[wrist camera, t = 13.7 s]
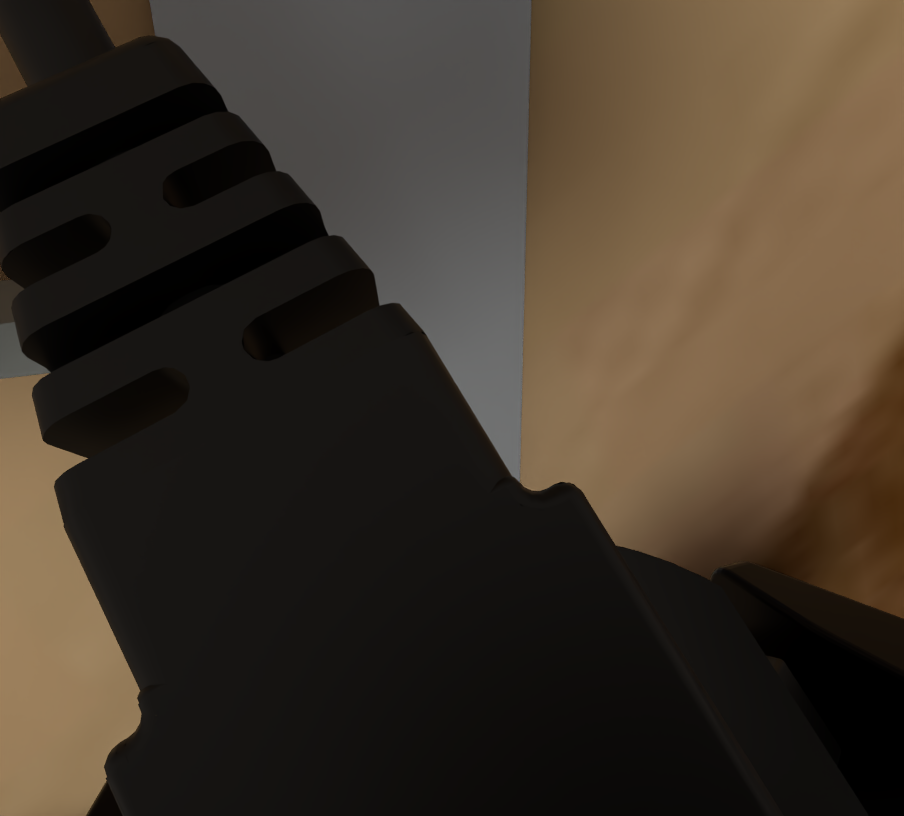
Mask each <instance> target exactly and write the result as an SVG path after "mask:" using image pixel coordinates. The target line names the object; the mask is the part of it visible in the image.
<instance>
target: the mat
mask: <svg viewBox="0 0 904 816" xmlns="http://www.w3.org/2000/svg"><path fill="white" fill-rule="evenodd" d="M149 1H150V7H151V13H152V19H153V25H154V31H155V36H158V37H164V38H168V39H170V40H171V41H173V42H174V43H176V44H177V45H178V46H180V47H181V48H182V50H183V51H184V52H185V53H186V54H187V55H188V57H189V58H190V59H191V60H192V61H193V62H194V64H195V65H196V66H197V67H198V68H199V69H200V71H201V72H202V73H203V74H204V75H205V76H206V78H207V79H208V80H209V81H210V82H211V84H212V85H213V86H214V87H215V88H216V89H217V91H218V92H219V93H220V94H221V96H222V98H223V101H224V103H225V105H226V107H227V109H228V111H229V112H231V113H234V114H236V115H239V116H240V117H241V119H242V120H243V121H244V122H245V123H246V124H247V126H248V127H249V128H250V129H251V130H252V131H253V133H254V134H255V135H256V136H257V137H258V138H259V140H260V141H261V142H262V143H263V144H264V146H265V147H266V148H267V149H268V151H269V153H270V155H271V158H272V161H273V163H274V166H275V169H276V171H281V172H284V173H287V174H289V175H290V176H291V177H292V178H293V179H294V181H295V182H296V183H297V184H298V185H299V186H300V188H301V189H302V190H303V191H304V192H305V193H306V195H307V196H308V197H309V198H310V199H311V200H312V202H313V203H314V204H315V205H316V206H317V208H318V209H319V210H320V212H321V216H322V219H323V223H324V226H325V229H326V231H327V233H328V235H329V236H330V235H336V236H341V237H343V238H344V239H345V240H346V241H347V243H348V244H349V245H350V246H351V247H352V248H353V250H354V251H355V252H356V253H357V254H358V255H359V257H360V258H361V259H362V260H363V261H364V262H365V264H366V265H367V266H368V267H369V268H370V269H371V271H372V272H373V273H374V276H375V282H376V287H377V293H378V299H379V305H384V304H388V303H400V304H401V306H402V307H403V308H404V309H405V310H406V311H407V313H408V314H409V315H410V316H411V317H412V318H413V319H414V321H415V322H416V323H417V324H418V325H419V326H420V327H421V329H422V330H423V331H424V332H425V334H426V335H427V337H428V339H429V340H430V342H431V344H432V345H433V347H434V348H435V350H436V352H437V353H438V355H439V357H440V358H441V360H442V362H443V363H444V365H445V367H446V368H447V370H448V372H449V373H450V375H451V376H452V378H453V380H454V381H455V383H456V385H457V386H458V388H459V390H460V391H461V393H462V395H463V396H464V398H465V399H466V401H467V403H468V404H469V406H470V408H471V409H472V411H473V413H474V414H475V416H476V418H477V419H478V421H479V422H480V424H481V426H482V427H483V429H484V431H485V432H486V434H487V436H488V437H489V439H490V441H491V442H492V444H493V445H494V447H495V449H496V450H497V452H498V454H499V455H500V457H501V459H502V460H503V462H504V464H505V465H506V467H507V469H508V470H509V472H510V473H511V475H512V477H515V478H516V479H517V480H518V481H519V482H520V450H521V409H522V368H523V327H524V286H525V245H526V204H527V163H528V122H529V81H530V40H531V0H149Z"/></svg>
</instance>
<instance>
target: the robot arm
mask: <svg viewBox="0 0 904 816" xmlns="http://www.w3.org/2000/svg"><path fill="white" fill-rule="evenodd" d="M710 581H711V582H713V583H715V584H717V585H719V586H721V587H722V588H723V590H724V591H725V593H726V595H727V596H728V598H729V599H730V601H731V602H732V604H733V605H734V607H735V609H736V610H737V612H738V613H739V615H740V616H741V618H742V619H743V621H744V623H745V624H746V626H747V627H748V629H749V630H750V632H751V633H752V635H753V636H754V638H755V640H756V641H757V643H758V644H759V646H760V647H761V649H762V650H763V652H764V654H765V655H766V656H771V657H775V658H779V659H782V660H783V661H784V662H785V663H786V665H787V666H788V668H789V670H790V671H791V673H792V674H793V676H794V677H795V679H796V680H797V682H798V683H799V685H800V686H801V688H802V690H803V691H804V693H805V694H806V696H807V697H808V699H809V700H810V702H811V703H812V705H813V706H814V708H815V710H816V711H817V713H818V714H819V716H820V717H821V719H822V720H823V722H824V723H825V725H826V727H827V728H828V730H829V731H830V733H831V734H832V736H833V737H834V739H835V740H836V742H837V743H838V745H839V747H840V749H841V754H840V758H839V761H838V765H837V767H838V768H839V770H840V771H841V773H842V775H843V776H844V778H845V779H846V781H847V782H848V784H849V785H850V787H851V788H852V790H853V792H854V793H855V795H856V796H857V798H858V799H859V801H860V802H861V804H862V806H863V807H864V809H865V810H866V812H867V813H868V815H869V816H904V619H903V618H900V617H898V616H895V615H892V614H889V613H887V612H884V611H881V610H879V609H876V608H873V607H871V606H868V605H865V604H862V603H860V602H857V601H854V600H852V599H849V598H846V597H844V596H841V595H838V594H836V593H833V592H830V591H827V590H825V589H822V588H819V587H817V586H814V585H811V584H809V583H806V582H803V581H800V580H798V579H795V578H792V577H790V576H787V575H784V574H782V573H779V572H776V571H773V570H771V569H768V568H765V567H763V566H760V565H757V564H755V563H752V562H747V561H742V562H737V563H733V564H730V565H726V566H722V567H719V568H717V569H716V570H715V571H714V572H713V574H712V575H711V579H710ZM126 758H127V757H126ZM86 816H123V815H122V813H121V811H120V809H119V807H118V804H117V802H116V800H115V798H114V795H113V793H112V791H111V789H110V786H109V784H108V782H107V781H106V783H105V785H104V786H103V788H102V790H101V791H100V793H99V795H98V796H97V798H96V800H95V801H94V803H93V805H92V807H91V808H90V810H89V812H88V813H87V815H86Z"/></svg>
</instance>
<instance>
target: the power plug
mask: <svg viewBox="0 0 904 816" xmlns="http://www.w3.org/2000/svg"><path fill="white" fill-rule="evenodd" d="M0 35H1V36H2V38H3V40H4V42H5V44H6V46H7V48H8V50H9V52H10V54H11V56H12V58H13V59H14V61H15V63H16V65H17V67H18V69H19V71H20V73H21V75H22V77H23V79H24V81H25V83H26V84H27V86H28V87H26V88H24V89H21V90H19V91H17V92H14V93H12V94H10V95H8V96H5V97H3V98H1V99H0V212H1V213H0V264H1V268H2V270H3V272H4V273H5V274H6V276H7V277H8V278H10V279H11V280H13V281H14V282H15V283H17V284H18V285H20V286H21V287H22V288H24V290H22V291H21V292H19V294H18V295H17V296H16V297H15V298H14V300H13V301H12V307H11V310H12V314H13V318H14V322H15V326H16V330H17V335H18V339H19V343H20V347H21V351H22V353H23V354H24V355H25V356H26V357H27V358H29V359H31V360H32V361H34V362H36V363H38V364H40V365H42V366H43V367H45V368H46V369H47V370H48V371H50V372H51V373H50V374H48V375H47V376H45V377H43V378H42V379H40V380H39V382H38V383H37V384H36V385H35V386H34V387H33V392H32V397H33V401H34V406H35V410H36V414H37V418H38V422H39V426H40V431H41V435H42V439H43V441H44V442H46V443H47V444H49V445H52V446H55V447H57V448H60V449H63V450H66V451H69V452H72V453H75V454H77V455H80V456H83V457H86V458H88V459H86V460H84V461H83V462H81V463H79V464H77V465H75V466H74V467H72V468H70V469H69V470H67V471H66V472H64V473H63V474H62V475H61V476H60V477H59V478H58V479H57V480H56V481H55V485H54V489H55V492H56V496H57V500H58V504H59V508H60V511H61V515H62V519H63V523H64V528H65V531H66V533H67V535H68V537H69V539H70V541H71V543H72V546H73V548H74V550H75V552H76V554H77V556H78V558H79V560H80V563H81V565H82V567H83V569H84V571H85V573H86V575H87V578H88V580H89V582H90V584H91V586H92V588H93V590H94V593H95V595H96V597H97V599H98V601H99V603H100V605H101V607H102V610H103V612H104V614H105V616H106V618H107V620H108V622H109V625H110V627H111V629H112V631H113V633H114V635H115V637H116V640H117V642H118V644H119V646H120V648H121V650H122V652H123V654H124V657H125V659H126V661H127V663H128V665H129V667H130V669H131V672H132V674H133V676H134V678H135V680H136V682H137V684H138V687H139V689H140V692H139V695H138V698H137V699H138V701H139V704H138V705H139V708H140V710H141V713H142V715H141V722H140V724H139V726H138V728H137V729H136V731H135V732H134V733H133V734H132V735H131V736H129V737H128V738H127V739H125V740H123V741H122V742H120V743H119V744H118V745H116V746H115V747H114V748H113V749H112V750H111V752H110V753H109V755H108V757H107V760H106V763H105V766H104V768H105V772H106V775H107V778H106V780H107V782H108V784H109V786H110V789H111V791H112V793H113V795H114V798H115V800H116V802H117V804H118V807H119V809H120V811H121V813H122V815H123V816H869V815H868V813H867V812H866V810H865V809H864V807H863V806H862V804H861V802H860V801H859V799H858V798H857V796H856V795H855V793H854V792H853V790H852V788H851V787H850V785H849V784H848V782H847V781H846V779H845V778H844V776H843V775H842V773H841V771H840V770H839V768H838V767H837V765H838V761H839V758H840V754H841V749H840V747H839V745H838V743H837V742H836V740H835V739H834V737H833V736H832V734H831V733H830V731H829V730H828V728H827V727H826V725H825V723H824V722H823V720H822V719H821V717H820V716H819V714H818V713H817V711H816V710H815V708H814V706H813V705H812V703H811V702H810V700H809V699H808V697H807V696H806V694H805V693H804V691H803V690H802V688H801V686H800V685H799V683H798V682H797V680H796V679H795V677H794V676H793V674H792V673H791V671H790V670H789V668H788V666H787V665H786V663H785V662H784V661H783V660H782V659H779V658H775V657H771V656H766V655H765V654H764V652H763V650H762V649H761V647H760V646H759V644H758V643H757V641H756V640H755V638H754V636H753V635H752V633H751V632H750V630H749V629H748V627H747V626H746V624H745V623H744V621H743V619H742V618H741V616H740V615H739V613H738V612H737V610H736V609H735V607H734V605H733V604H732V602H731V601H730V599H729V598H728V596H727V595H726V593H725V591H724V590H723V588H722V587H721V586H719V585H717V584H715V583H713V582H711V581H709V580H708V579H706V578H704V577H702V576H700V575H698V574H695V573H693V572H691V571H689V570H686V569H684V568H682V567H680V566H678V565H675V564H673V563H671V562H668V561H665V560H662V559H659V558H656V557H654V556H651V555H648V554H645V553H642V552H639V551H635V550H631V549H627V548H624V547H619V546H616V545H615V544H614V542H613V541H612V539H611V537H610V536H609V534H608V533H607V531H606V529H605V528H604V526H603V525H602V523H601V521H600V520H599V518H598V517H597V515H596V513H595V512H594V510H593V508H592V507H591V505H590V504H589V502H588V500H587V499H586V497H585V495H584V493H583V492H582V491H581V490H580V489H579V488H577V487H576V486H575V485H574V484H571V483H565V482H560V483H557V484H554V485H552V486H551V487H549V488H547V489H545V490H542V491H531V490H529V489H527V488H525V487H523V485H522V484H521V483H520V482H519V481H518V480H517V479H516V478H515V477H512V475H511V473H510V472H509V470H508V469H507V467H506V465H505V464H504V462H503V460H502V459H501V457H500V455H499V454H498V452H497V450H496V449H495V447H494V445H493V444H492V442H491V441H490V439H489V437H488V436H487V434H486V432H485V431H484V429H483V427H482V426H481V424H480V422H479V421H478V419H477V418H476V416H475V414H474V413H473V411H472V409H471V408H470V406H469V404H468V403H467V401H466V399H465V398H464V396H463V395H462V393H461V391H460V390H459V388H458V386H457V385H456V383H455V381H454V380H453V378H452V376H451V375H450V373H449V372H448V370H447V368H446V367H445V365H444V363H443V362H442V360H441V358H440V357H439V355H438V353H437V352H436V350H435V348H434V347H433V345H432V344H431V342H430V340H429V339H428V337H427V335H426V334H425V332H424V331H423V330H422V329H421V327H420V326H419V325H418V324H417V323H416V322H415V321H414V319H413V318H412V317H411V316H410V315H409V314H408V313H407V311H406V310H405V309H404V308H403V307H402V306H401V304H400V303H388V304H384V305H379V299H378V293H377V287H376V282H375V276H374V273H373V272H372V271H371V269H370V268H369V267H368V266H367V265H366V264H365V262H364V261H363V260H362V259H361V258H360V257H359V255H358V254H357V253H356V252H355V251H354V250H353V248H352V247H351V246H350V245H349V244H348V243H347V241H346V240H345V239H344V238H343V237H341V236H336V235H330V236H329V235H328V233H327V231H326V229H325V226H324V223H323V219H322V216H321V212H320V210H319V209H318V208H317V206H316V205H315V204H314V203H313V202H312V200H311V199H310V198H309V197H308V196H307V195H306V193H305V192H304V191H303V190H302V189H301V188H300V186H299V185H298V184H297V183H296V182H295V181H294V179H293V178H292V177H291V176H290V175H289V174H287V173H284V172H281V171H276V169H275V166H274V163H273V161H272V158H271V155H270V153H269V151H268V149H267V148H266V147H265V146H264V144H263V143H262V142H261V141H260V140H259V138H258V137H257V136H256V135H255V134H254V133H253V131H252V130H251V129H250V128H249V127H248V126H247V124H246V123H245V122H244V121H243V120H242V119H241V117H240V116H239V115H236V114H234V113H231V112H229V111H228V109H227V107H226V105H225V103H224V101H223V98H222V96H221V94H220V93H219V92H218V91H217V89H216V88H215V87H214V86H213V85H212V84H211V82H210V81H209V80H208V79H207V78H206V76H205V75H204V74H203V73H202V72H201V71H200V69H199V68H198V67H197V66H196V65H195V64H194V62H193V61H192V60H191V59H190V58H189V57H188V55H187V54H186V53H185V52H184V51H183V50H182V48H181V47H180V46H178V45H177V44H176V43H174V42H173V41H171V40H170V39H168V38H164V37H158V36H144V37H139V38H137V39H134V40H132V41H130V42H128V43H125V44H123V45H121V46H119V47H116V48H115V46H114V45H113V43H112V41H111V39H110V37H109V36H108V34H107V32H106V30H105V28H104V27H103V25H102V23H101V21H100V19H99V18H98V16H97V14H96V12H95V10H94V9H93V7H92V5H91V3H90V1H89V0H0ZM126 757H127V758H126Z"/></svg>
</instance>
